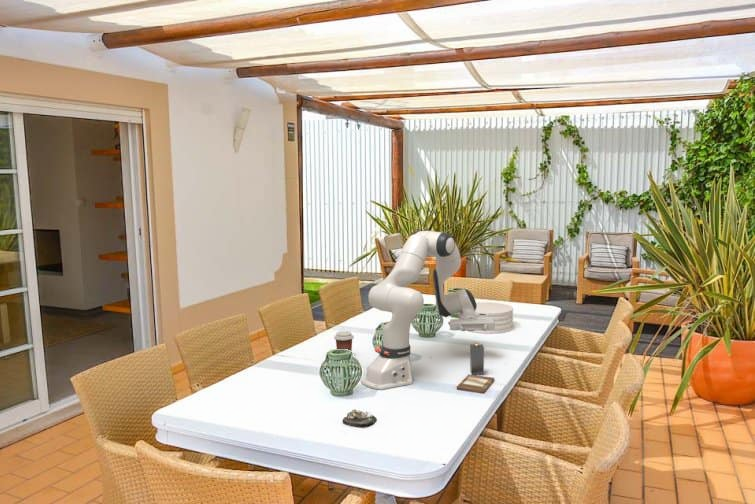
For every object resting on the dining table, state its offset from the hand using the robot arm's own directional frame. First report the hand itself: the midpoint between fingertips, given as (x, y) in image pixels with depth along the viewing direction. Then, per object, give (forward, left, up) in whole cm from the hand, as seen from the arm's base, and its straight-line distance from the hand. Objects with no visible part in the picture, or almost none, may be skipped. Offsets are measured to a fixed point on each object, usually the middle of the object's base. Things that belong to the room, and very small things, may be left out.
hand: (473, 329), depth 263 cm
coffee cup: (-38, +46, -16) cm, 62 cm away
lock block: (-8, -9, -16) cm, 20 cm away
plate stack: (+54, +40, -16) cm, 69 cm away
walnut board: (-19, -19, -16) cm, 31 cm away
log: (-76, -18, -17) cm, 80 cm away
